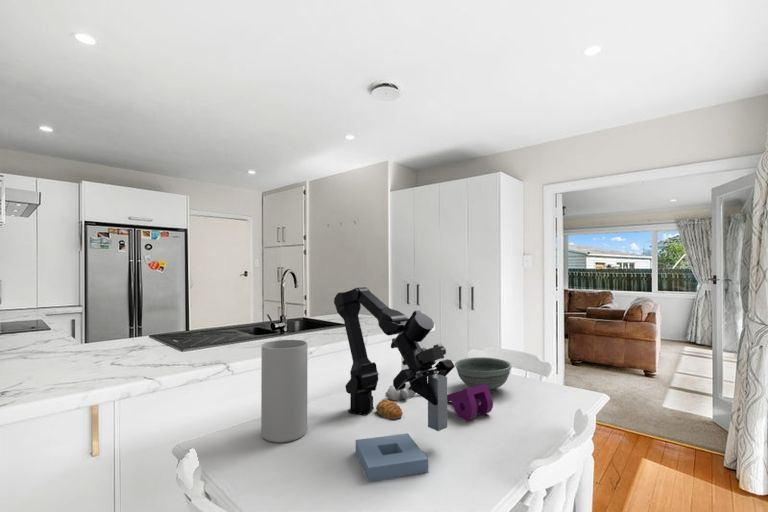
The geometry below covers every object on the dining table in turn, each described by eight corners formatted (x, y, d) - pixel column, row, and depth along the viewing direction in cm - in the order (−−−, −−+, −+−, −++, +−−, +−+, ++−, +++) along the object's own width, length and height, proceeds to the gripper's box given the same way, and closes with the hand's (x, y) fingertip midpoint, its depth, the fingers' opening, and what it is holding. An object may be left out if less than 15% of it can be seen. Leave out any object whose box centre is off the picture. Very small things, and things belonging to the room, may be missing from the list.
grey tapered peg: (427, 426, 101) (427, 376, 101) (437, 423, 103) (437, 373, 103) (438, 431, 98) (437, 379, 98) (447, 427, 100) (447, 376, 101)
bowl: (519, 398, 137) (519, 370, 137) (460, 398, 137) (459, 370, 137) (502, 381, 157) (502, 356, 158) (450, 381, 158) (450, 356, 158)
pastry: (408, 417, 121) (408, 405, 121) (390, 422, 117) (390, 410, 117) (390, 408, 129) (390, 396, 129) (373, 413, 125) (373, 401, 125)
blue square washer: (355, 451, 98) (355, 439, 98) (407, 444, 102) (407, 433, 102) (368, 481, 85) (368, 467, 85) (428, 472, 89) (428, 458, 89)
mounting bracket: (438, 426, 128) (475, 418, 115) (430, 399, 131) (465, 389, 118) (458, 419, 134) (496, 411, 120) (451, 394, 137) (486, 383, 123)
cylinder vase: (292, 420, 118) (292, 338, 119) (316, 433, 109) (316, 343, 110) (253, 433, 109) (253, 344, 110) (275, 448, 100) (275, 350, 101)
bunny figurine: (380, 386, 139) (411, 374, 148) (381, 400, 139) (412, 387, 148) (396, 393, 131) (429, 379, 140) (398, 408, 132) (430, 393, 141)
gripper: (400, 338, 98) (432, 394, 89) (449, 330, 110) (482, 378, 101) (380, 363, 104) (409, 418, 95) (429, 353, 116) (458, 400, 107)
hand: (441, 402), depth 100 cm, fingers closed on grey tapered peg, 3 cm apart
